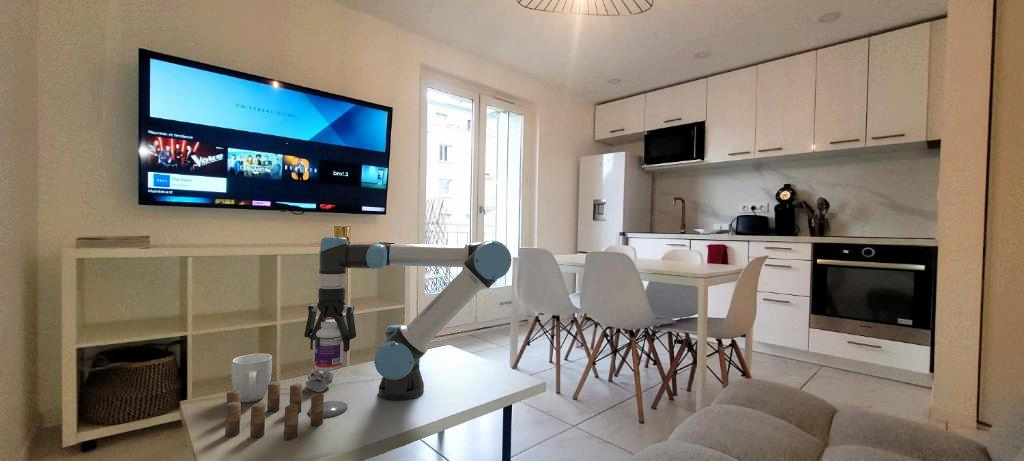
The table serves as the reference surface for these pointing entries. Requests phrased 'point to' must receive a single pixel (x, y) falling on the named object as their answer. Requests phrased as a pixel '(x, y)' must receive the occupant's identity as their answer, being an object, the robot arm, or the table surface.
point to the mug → (251, 376)
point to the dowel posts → (272, 406)
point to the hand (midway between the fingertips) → (329, 361)
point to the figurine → (319, 379)
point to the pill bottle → (328, 347)
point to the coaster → (332, 408)
